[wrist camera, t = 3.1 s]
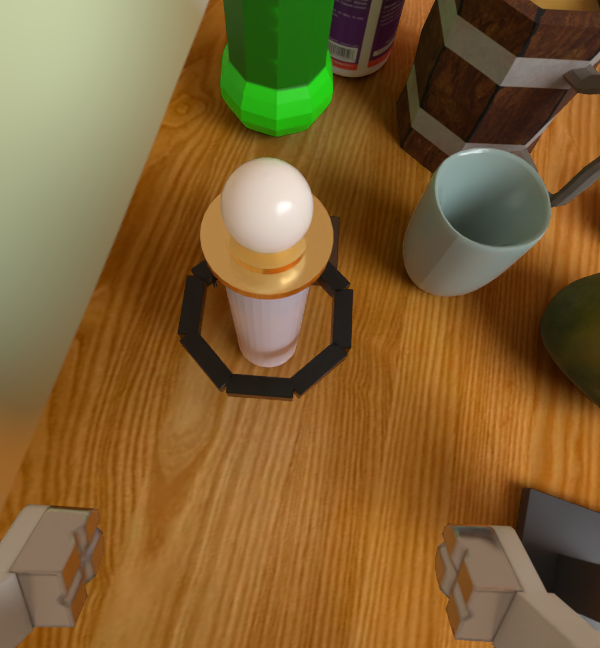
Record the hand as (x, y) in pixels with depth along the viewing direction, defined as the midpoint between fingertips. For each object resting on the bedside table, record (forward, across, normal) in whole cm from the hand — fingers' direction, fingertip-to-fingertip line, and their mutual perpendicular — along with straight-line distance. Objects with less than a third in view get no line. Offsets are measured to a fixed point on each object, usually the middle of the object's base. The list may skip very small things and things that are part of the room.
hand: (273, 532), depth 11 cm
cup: (+29, -13, +3) cm, 31 cm away
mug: (+37, -17, -6) cm, 42 cm away
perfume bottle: (+23, +1, +8) cm, 25 cm away
